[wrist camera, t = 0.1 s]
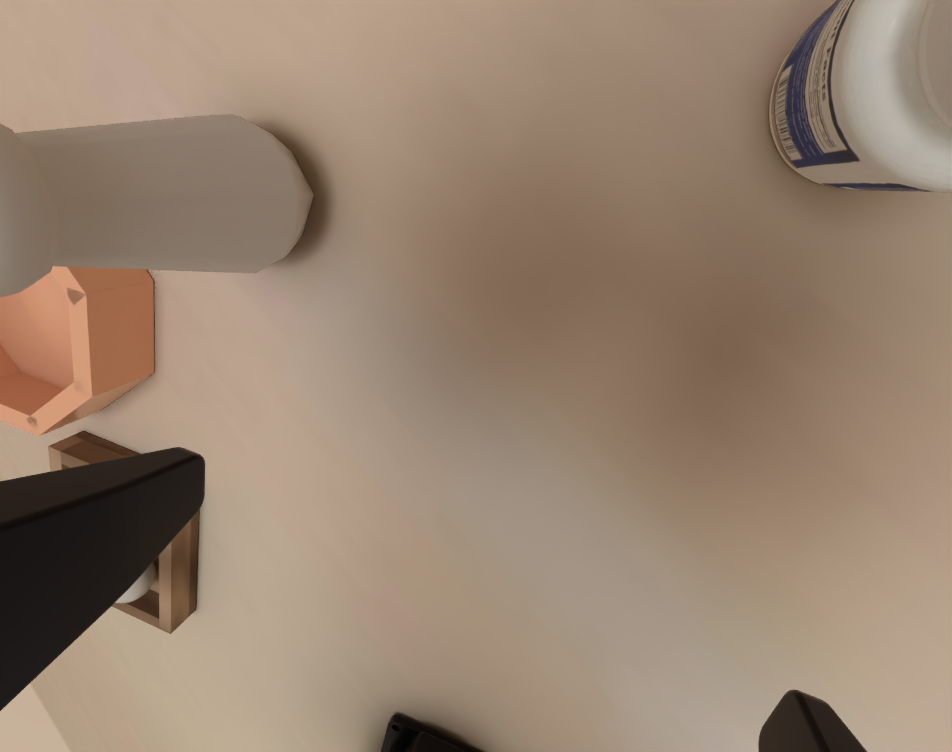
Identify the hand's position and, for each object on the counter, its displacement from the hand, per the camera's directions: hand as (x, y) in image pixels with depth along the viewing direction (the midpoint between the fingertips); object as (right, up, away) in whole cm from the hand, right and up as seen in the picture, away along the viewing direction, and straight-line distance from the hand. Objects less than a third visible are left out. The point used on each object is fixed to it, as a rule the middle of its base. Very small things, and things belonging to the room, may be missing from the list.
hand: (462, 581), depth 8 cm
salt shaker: (-9, +11, +15) cm, 20 cm away
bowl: (-22, +7, +20) cm, 30 cm away
